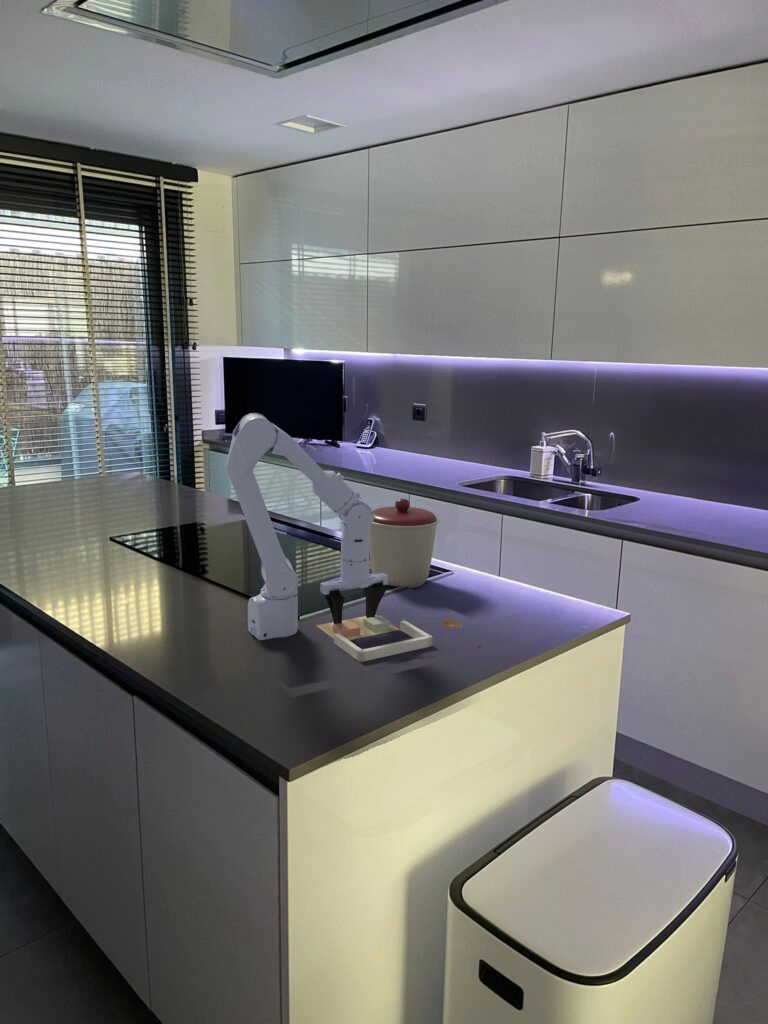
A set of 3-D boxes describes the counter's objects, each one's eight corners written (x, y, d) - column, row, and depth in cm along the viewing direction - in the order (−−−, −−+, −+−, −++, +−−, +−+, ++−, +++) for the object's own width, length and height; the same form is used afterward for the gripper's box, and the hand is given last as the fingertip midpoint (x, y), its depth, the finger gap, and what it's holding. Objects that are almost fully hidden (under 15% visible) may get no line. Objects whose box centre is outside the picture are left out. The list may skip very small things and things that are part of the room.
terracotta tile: (342, 638, 151) (342, 631, 151) (332, 631, 154) (332, 624, 154) (360, 634, 153) (360, 627, 153) (350, 628, 156) (350, 621, 156)
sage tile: (373, 632, 155) (373, 624, 154) (363, 625, 158) (363, 618, 158) (390, 628, 157) (390, 621, 156) (380, 622, 160) (380, 615, 160)
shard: (439, 614, 170) (440, 606, 170) (474, 618, 168) (475, 610, 168) (430, 632, 160) (430, 624, 160) (466, 636, 158) (467, 628, 158)
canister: (443, 576, 196) (447, 494, 192) (428, 598, 179) (431, 509, 175) (375, 569, 201) (376, 489, 196) (353, 590, 184) (355, 503, 179)
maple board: (338, 647, 149) (338, 642, 149) (315, 631, 158) (315, 625, 157) (400, 635, 156) (400, 629, 156) (374, 619, 165) (374, 614, 165)
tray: (359, 668, 140) (360, 652, 140) (334, 648, 149) (334, 634, 148) (432, 651, 149) (433, 636, 148) (404, 634, 157) (404, 620, 156)
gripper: (332, 567, 148) (331, 634, 151) (396, 558, 155) (394, 622, 158) (315, 558, 154) (315, 623, 157) (378, 549, 161) (376, 611, 164)
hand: (354, 622), depth 158 cm, fingers open, 7 cm apart
